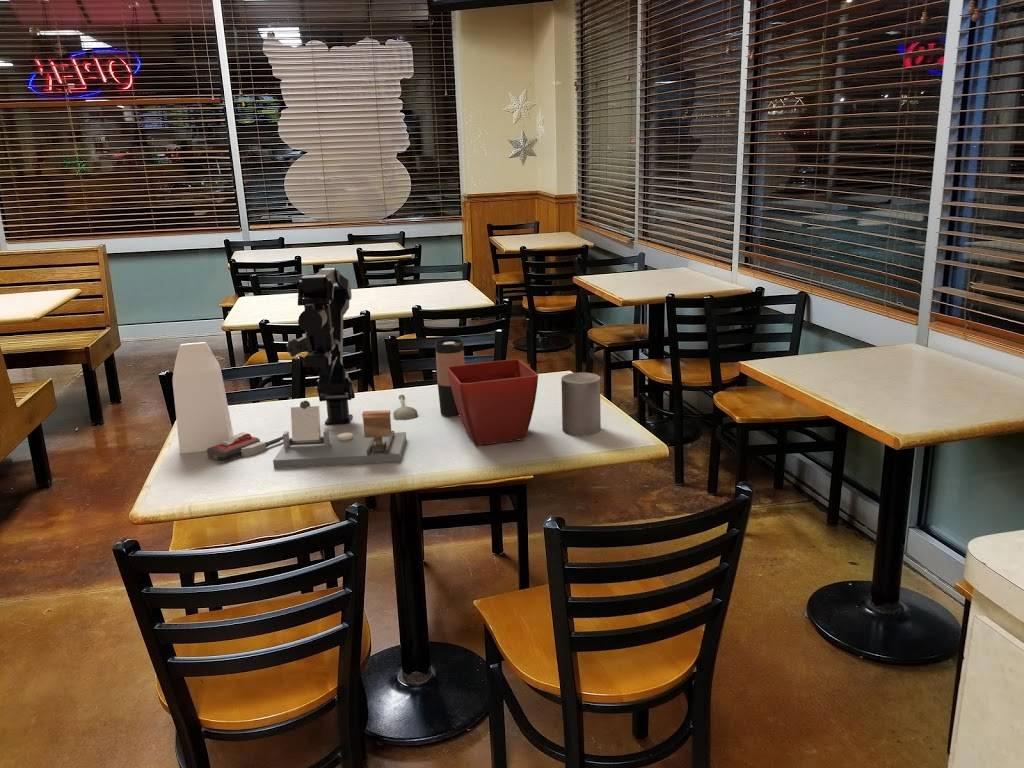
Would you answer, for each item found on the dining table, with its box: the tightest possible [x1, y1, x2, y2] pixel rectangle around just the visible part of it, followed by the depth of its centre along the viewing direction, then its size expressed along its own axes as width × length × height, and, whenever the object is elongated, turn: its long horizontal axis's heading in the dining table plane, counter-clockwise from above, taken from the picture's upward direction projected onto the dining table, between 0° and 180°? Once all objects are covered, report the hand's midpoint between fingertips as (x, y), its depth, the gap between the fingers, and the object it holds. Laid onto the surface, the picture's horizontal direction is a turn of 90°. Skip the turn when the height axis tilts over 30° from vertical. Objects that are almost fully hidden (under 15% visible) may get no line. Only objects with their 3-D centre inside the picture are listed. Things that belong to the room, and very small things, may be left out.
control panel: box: [272, 428, 407, 469], centre depth 200 cm, size 16×29×6 cm, turn 92°
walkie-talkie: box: [207, 432, 283, 463], centre depth 205 cm, size 9×4×20 cm
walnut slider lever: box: [361, 409, 392, 452], centre depth 194 cm, size 4×6×9 cm, turn 92°
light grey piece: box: [289, 400, 324, 445], centre depth 200 cm, size 2×8×11 cm, turn 92°
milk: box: [172, 341, 234, 454], centre depth 209 cm, size 12×12×26 cm
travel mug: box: [434, 338, 466, 418], centre depth 226 cm, size 8×8×20 cm
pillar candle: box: [560, 372, 602, 437], centre depth 208 cm, size 10×10×15 cm
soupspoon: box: [392, 394, 418, 421], centre depth 234 cm, size 22×3×7 cm
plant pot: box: [447, 358, 539, 446], centre depth 206 cm, size 19×19×17 cm
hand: (326, 386), depth 211 cm, fingers closed
